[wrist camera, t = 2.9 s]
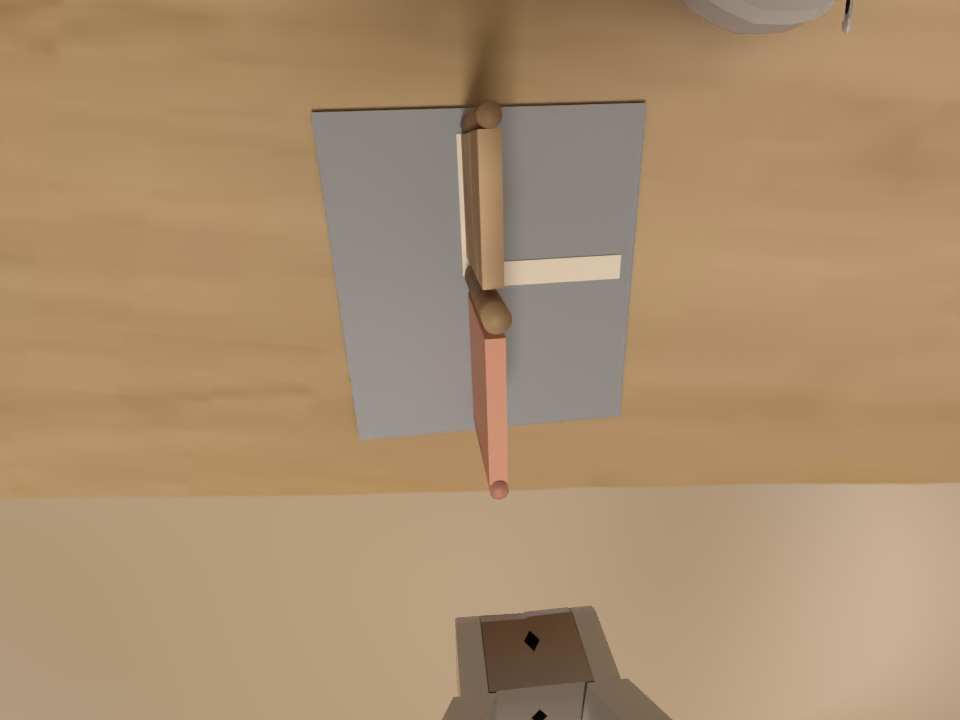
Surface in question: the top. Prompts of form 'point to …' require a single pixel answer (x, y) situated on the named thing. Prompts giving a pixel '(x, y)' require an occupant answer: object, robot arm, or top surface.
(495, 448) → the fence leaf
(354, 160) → the board
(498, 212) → the fence fixed
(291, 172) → the top surface
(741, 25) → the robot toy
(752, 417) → the top surface
